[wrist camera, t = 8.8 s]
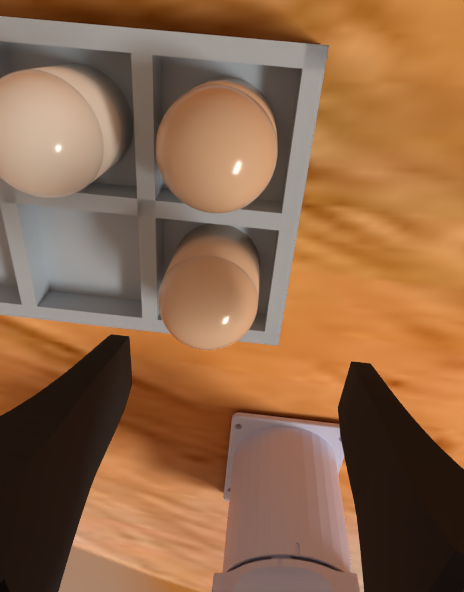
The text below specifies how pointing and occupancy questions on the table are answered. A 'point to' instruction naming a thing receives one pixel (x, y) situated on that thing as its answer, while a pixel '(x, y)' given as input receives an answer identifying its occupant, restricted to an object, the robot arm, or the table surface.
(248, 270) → the brown egg
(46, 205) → the egg tray
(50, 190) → the light brown egg
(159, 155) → the brown egg
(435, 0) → the table surface
